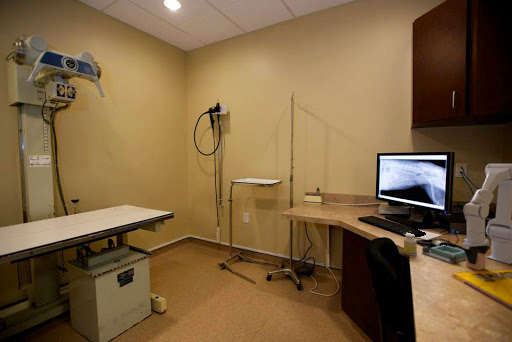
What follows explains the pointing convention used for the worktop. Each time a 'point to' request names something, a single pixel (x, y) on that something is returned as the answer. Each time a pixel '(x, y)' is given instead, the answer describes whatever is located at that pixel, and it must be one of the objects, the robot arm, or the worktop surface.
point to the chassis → (445, 253)
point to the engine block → (477, 262)
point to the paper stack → (429, 235)
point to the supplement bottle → (410, 244)
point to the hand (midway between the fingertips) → (475, 262)
